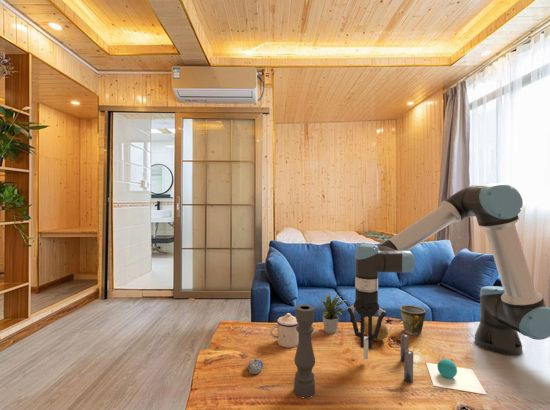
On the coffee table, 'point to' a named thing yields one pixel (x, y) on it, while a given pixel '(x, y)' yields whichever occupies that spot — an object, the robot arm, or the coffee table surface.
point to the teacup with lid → (286, 331)
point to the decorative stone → (255, 366)
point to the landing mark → (456, 380)
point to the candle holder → (304, 352)
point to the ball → (447, 368)
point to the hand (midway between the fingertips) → (365, 356)
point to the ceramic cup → (412, 319)
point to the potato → (382, 332)
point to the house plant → (331, 313)
